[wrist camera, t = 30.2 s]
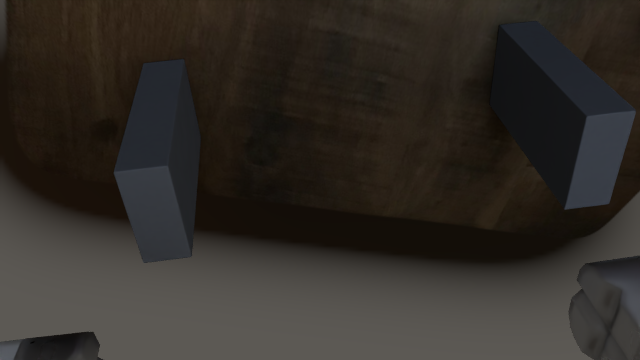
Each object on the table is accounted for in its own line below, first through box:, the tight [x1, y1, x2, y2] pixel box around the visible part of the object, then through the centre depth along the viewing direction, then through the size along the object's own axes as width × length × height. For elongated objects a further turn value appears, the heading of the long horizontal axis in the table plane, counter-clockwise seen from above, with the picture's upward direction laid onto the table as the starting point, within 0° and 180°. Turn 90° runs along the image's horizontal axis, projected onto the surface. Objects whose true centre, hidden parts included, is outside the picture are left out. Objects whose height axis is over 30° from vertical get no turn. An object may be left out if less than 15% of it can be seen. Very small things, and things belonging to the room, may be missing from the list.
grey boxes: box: [114, 21, 636, 263], centre depth 41 cm, size 30×7×14 cm, turn 93°
